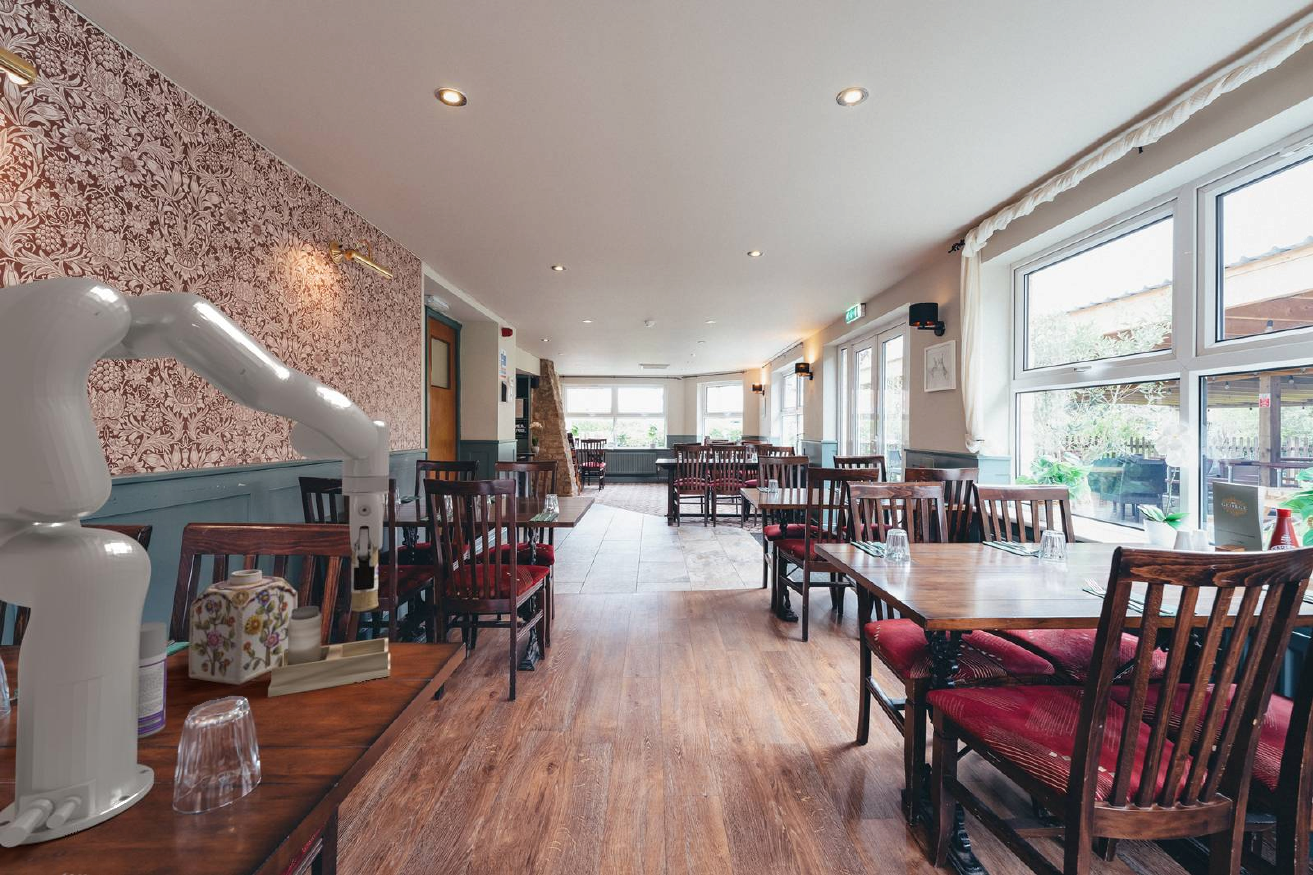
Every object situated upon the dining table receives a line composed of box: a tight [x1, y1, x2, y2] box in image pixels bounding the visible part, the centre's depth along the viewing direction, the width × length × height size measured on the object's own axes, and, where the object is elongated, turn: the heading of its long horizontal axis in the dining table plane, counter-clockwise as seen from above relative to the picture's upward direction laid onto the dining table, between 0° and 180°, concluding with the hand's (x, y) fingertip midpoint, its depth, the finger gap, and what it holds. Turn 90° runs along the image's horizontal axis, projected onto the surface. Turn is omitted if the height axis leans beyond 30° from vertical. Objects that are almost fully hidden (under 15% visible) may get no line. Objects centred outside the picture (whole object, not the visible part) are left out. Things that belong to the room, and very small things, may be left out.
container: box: [137, 621, 168, 740], centre depth 78 cm, size 5×5×15 cm
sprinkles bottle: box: [350, 533, 379, 612], centre depth 98 cm, size 5×5×14 cm
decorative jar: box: [188, 569, 298, 686], centre depth 99 cm, size 12×12×18 cm
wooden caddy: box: [267, 605, 391, 698], centre depth 96 cm, size 8×18×13 cm, turn 116°
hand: (364, 584), depth 98 cm, fingers closed on sprinkles bottle, 4 cm apart
